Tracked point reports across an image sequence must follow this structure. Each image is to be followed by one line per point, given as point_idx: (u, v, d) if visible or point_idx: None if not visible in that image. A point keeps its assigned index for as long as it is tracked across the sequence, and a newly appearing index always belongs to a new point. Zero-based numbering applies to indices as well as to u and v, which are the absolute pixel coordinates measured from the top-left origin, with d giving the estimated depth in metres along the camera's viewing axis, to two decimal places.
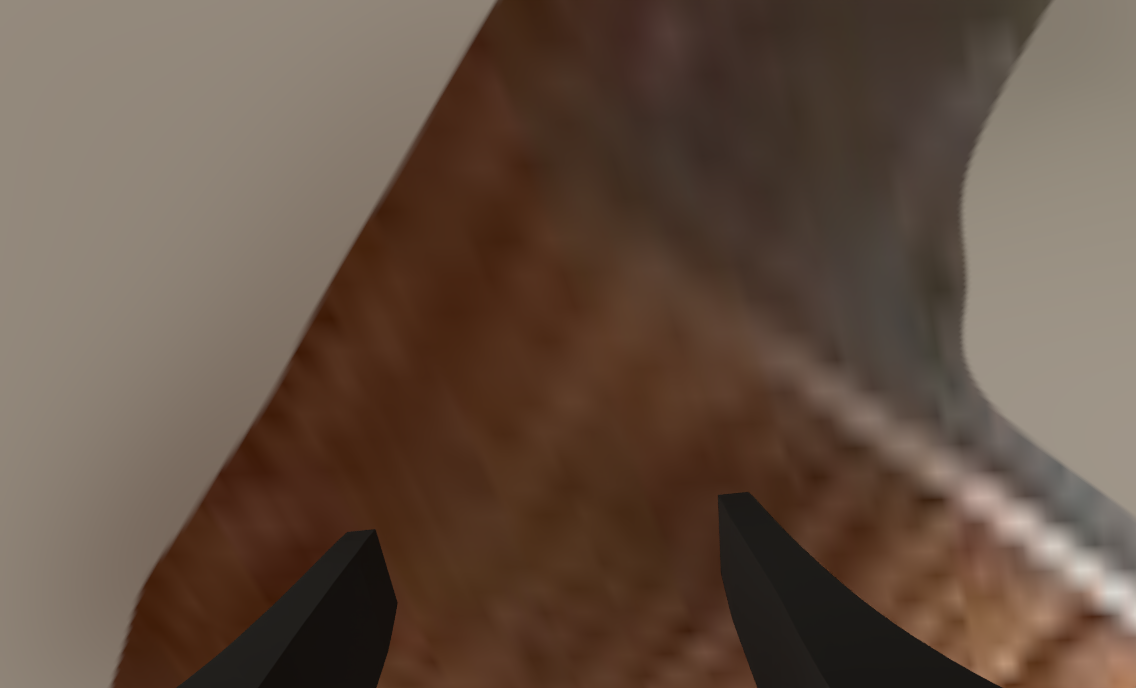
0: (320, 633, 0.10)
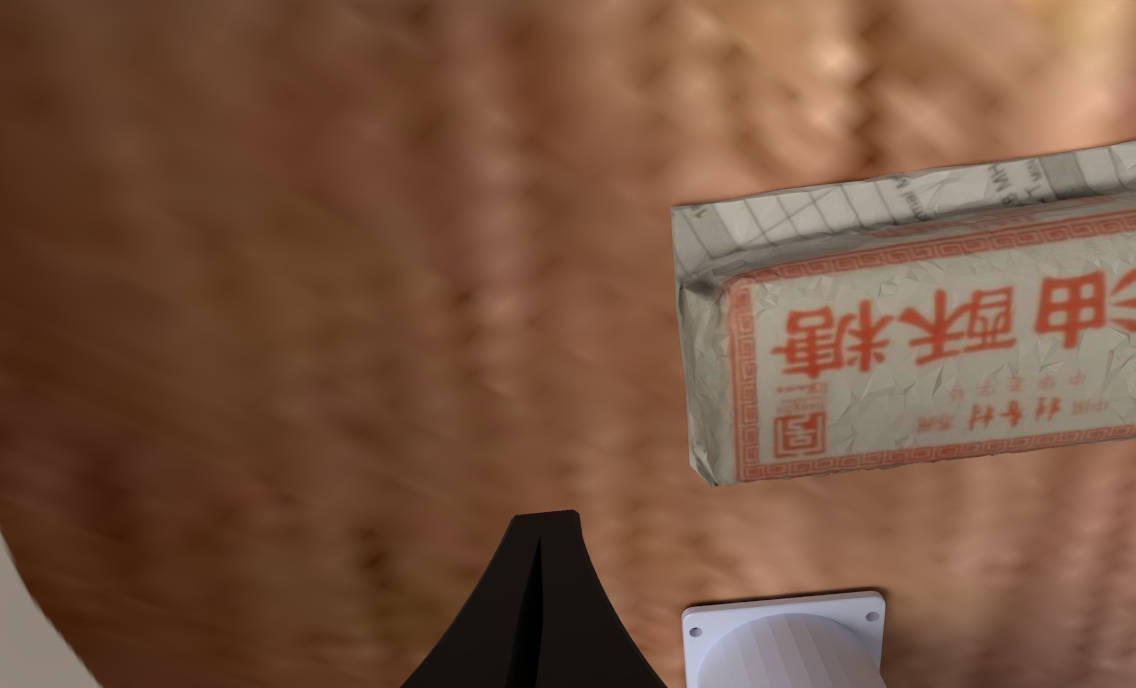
0: (528, 614, 0.10)
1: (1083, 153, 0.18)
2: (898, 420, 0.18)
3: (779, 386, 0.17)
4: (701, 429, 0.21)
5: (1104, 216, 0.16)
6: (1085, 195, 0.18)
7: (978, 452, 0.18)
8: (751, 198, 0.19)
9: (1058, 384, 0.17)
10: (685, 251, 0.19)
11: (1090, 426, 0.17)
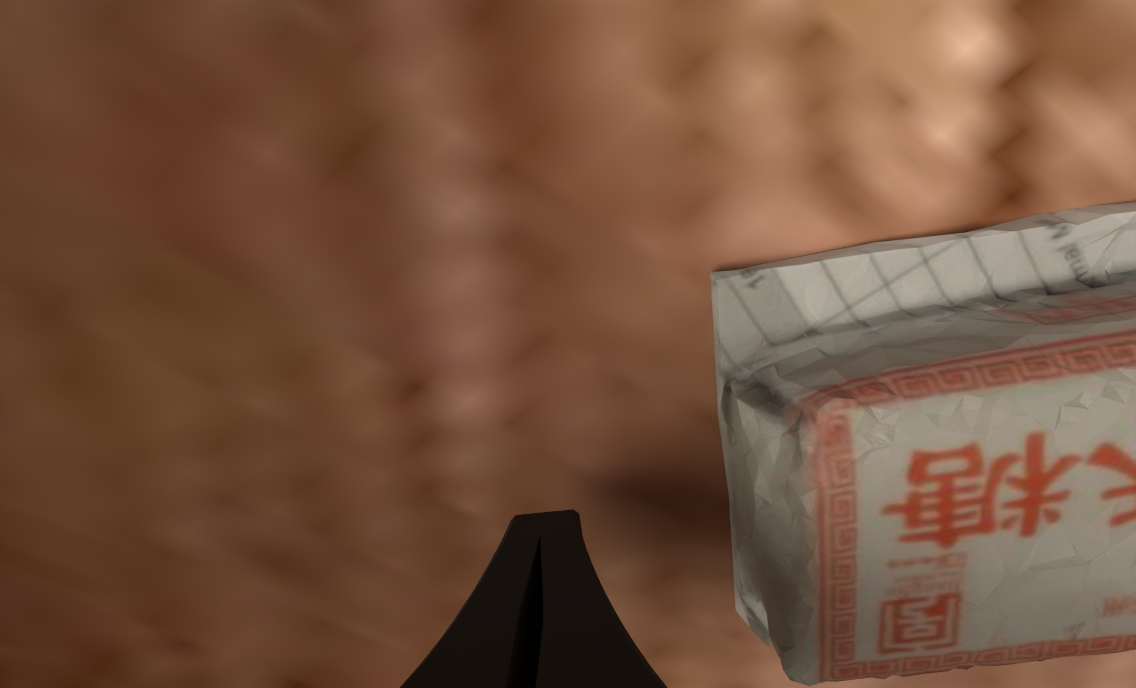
0: (528, 614, 0.10)
1: None
2: (1072, 601, 0.11)
3: (892, 558, 0.11)
4: (756, 580, 0.14)
5: None
6: None
7: None
8: (832, 258, 0.12)
9: None
10: (733, 336, 0.13)
11: None
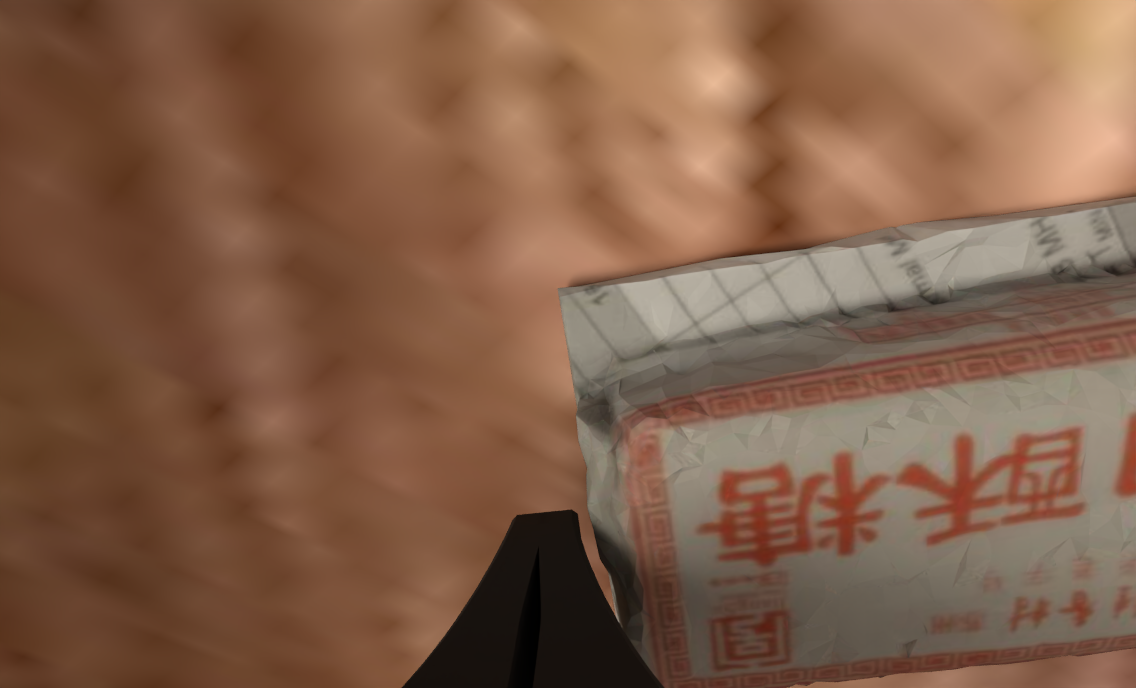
0: (530, 614, 0.10)
1: None
2: (900, 619, 0.11)
3: (713, 576, 0.11)
4: None
5: None
6: None
7: (1024, 657, 0.12)
8: (674, 275, 0.12)
9: None
10: (582, 352, 0.13)
11: None
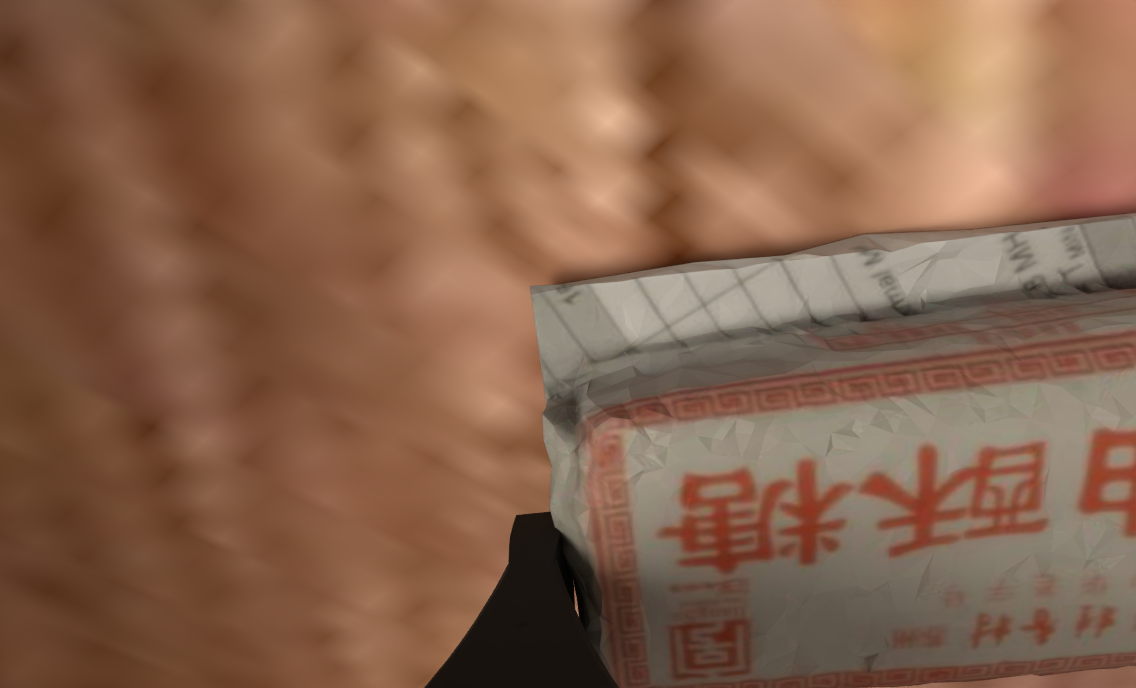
0: None
1: None
2: (861, 631, 0.11)
3: (674, 583, 0.11)
4: None
5: None
6: None
7: (985, 675, 0.12)
8: (647, 277, 0.12)
9: (1113, 587, 0.11)
10: (553, 351, 0.13)
11: None
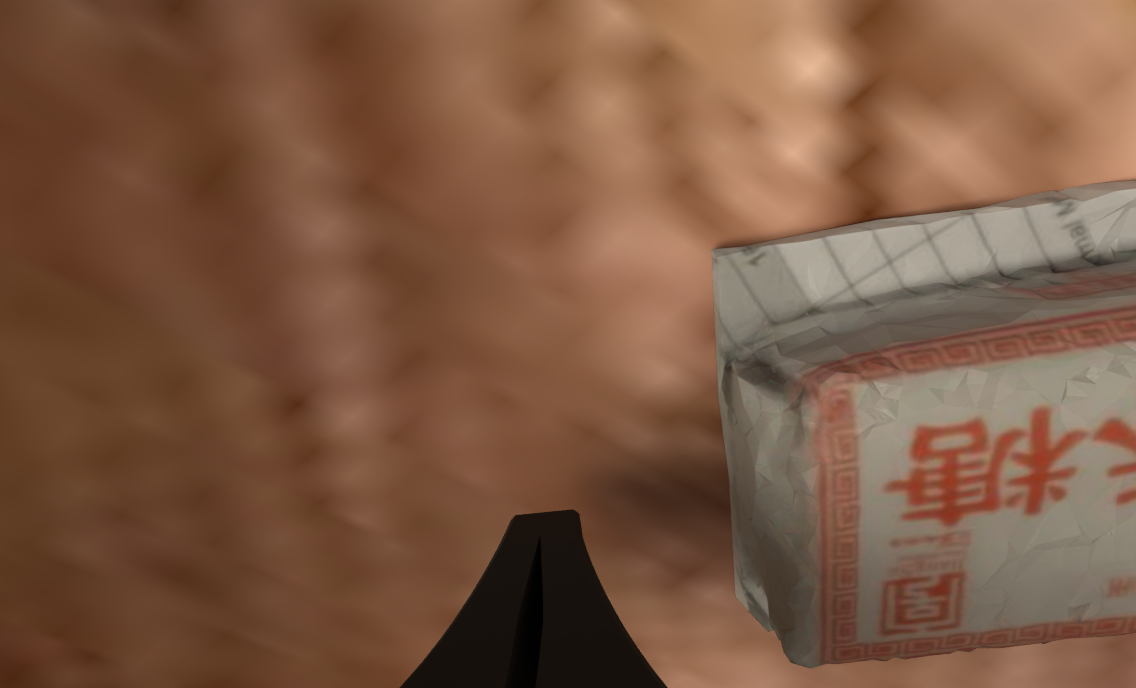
0: (528, 614, 0.10)
1: None
2: (1077, 581, 0.11)
3: (895, 537, 0.11)
4: (757, 563, 0.14)
5: None
6: None
7: None
8: (834, 235, 0.12)
9: None
10: (734, 314, 0.13)
11: None
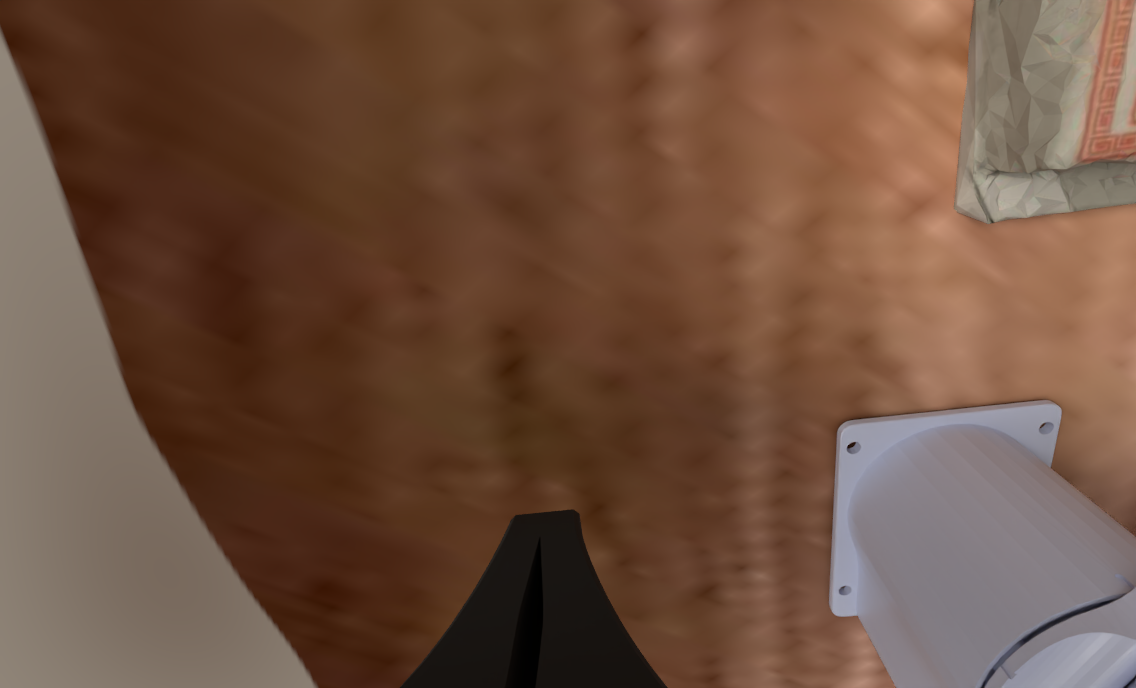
0: (529, 614, 0.10)
1: None
2: None
3: None
4: (999, 137, 0.18)
5: None
6: None
7: None
8: None
9: None
10: None
11: None
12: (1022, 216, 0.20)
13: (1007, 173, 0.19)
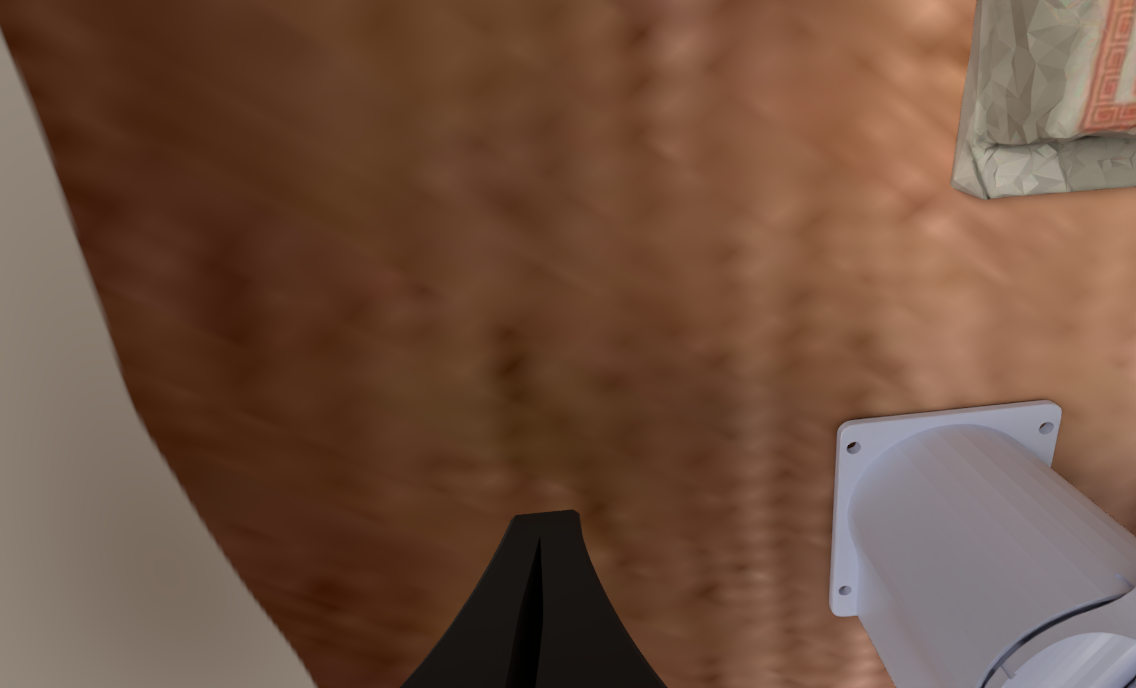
0: (529, 614, 0.10)
1: None
2: None
3: None
4: (1000, 108, 0.18)
5: None
6: None
7: None
8: None
9: None
10: None
11: None
12: (1019, 194, 0.19)
13: (1006, 148, 0.19)
